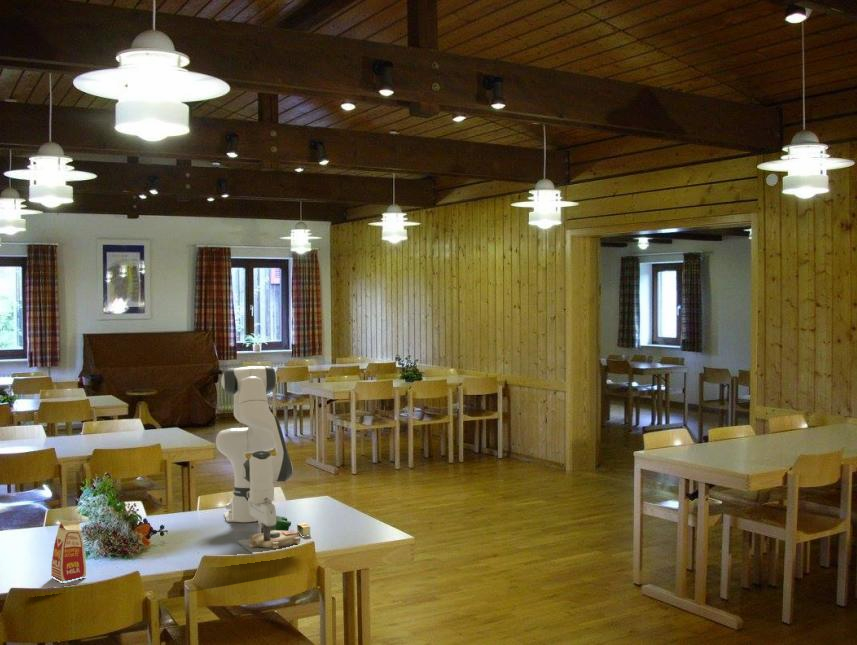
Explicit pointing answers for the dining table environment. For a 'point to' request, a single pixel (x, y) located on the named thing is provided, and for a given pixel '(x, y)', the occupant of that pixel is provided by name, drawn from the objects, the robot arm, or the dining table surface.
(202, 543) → the dining table surface
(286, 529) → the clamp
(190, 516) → the dining table surface
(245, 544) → the base plate
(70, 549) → the milk carton
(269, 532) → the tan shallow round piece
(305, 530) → the beige small block
